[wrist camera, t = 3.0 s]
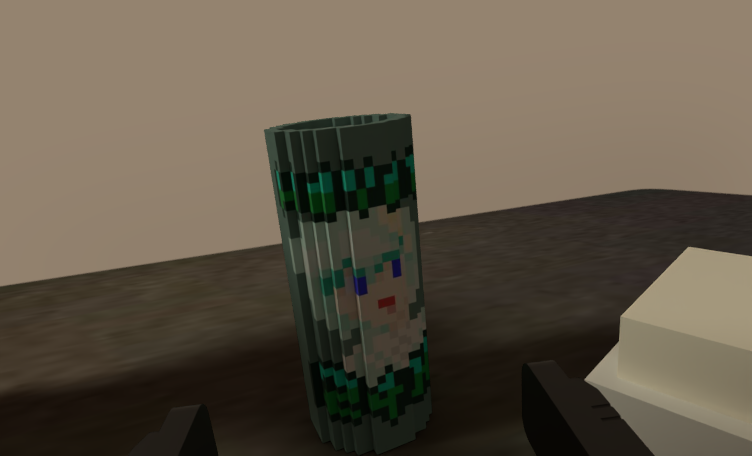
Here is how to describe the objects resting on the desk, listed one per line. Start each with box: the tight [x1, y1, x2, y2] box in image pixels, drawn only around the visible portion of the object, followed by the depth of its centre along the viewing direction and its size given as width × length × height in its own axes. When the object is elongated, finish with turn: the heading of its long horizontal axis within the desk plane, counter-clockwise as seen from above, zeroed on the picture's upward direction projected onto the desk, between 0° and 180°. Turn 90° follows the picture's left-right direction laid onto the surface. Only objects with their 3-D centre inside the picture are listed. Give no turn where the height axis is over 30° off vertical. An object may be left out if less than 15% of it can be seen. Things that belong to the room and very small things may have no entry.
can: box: [264, 113, 432, 456], centre depth 23 cm, size 6×6×15 cm
